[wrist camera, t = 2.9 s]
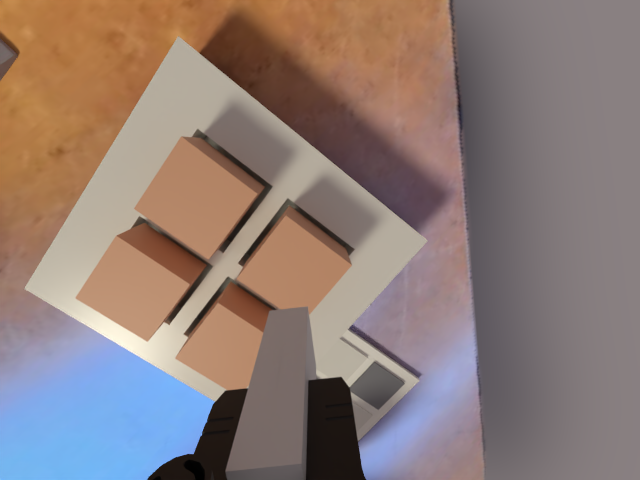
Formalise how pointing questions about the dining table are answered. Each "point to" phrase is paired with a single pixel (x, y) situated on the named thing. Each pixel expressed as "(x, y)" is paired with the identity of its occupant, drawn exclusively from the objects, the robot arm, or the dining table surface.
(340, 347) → the card
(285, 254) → the button
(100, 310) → the button
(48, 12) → the dining table surface
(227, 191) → the button
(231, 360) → the button
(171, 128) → the board
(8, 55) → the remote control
